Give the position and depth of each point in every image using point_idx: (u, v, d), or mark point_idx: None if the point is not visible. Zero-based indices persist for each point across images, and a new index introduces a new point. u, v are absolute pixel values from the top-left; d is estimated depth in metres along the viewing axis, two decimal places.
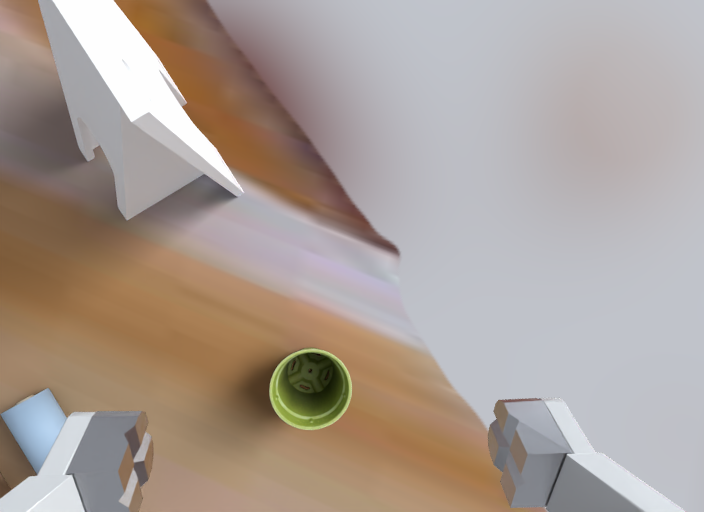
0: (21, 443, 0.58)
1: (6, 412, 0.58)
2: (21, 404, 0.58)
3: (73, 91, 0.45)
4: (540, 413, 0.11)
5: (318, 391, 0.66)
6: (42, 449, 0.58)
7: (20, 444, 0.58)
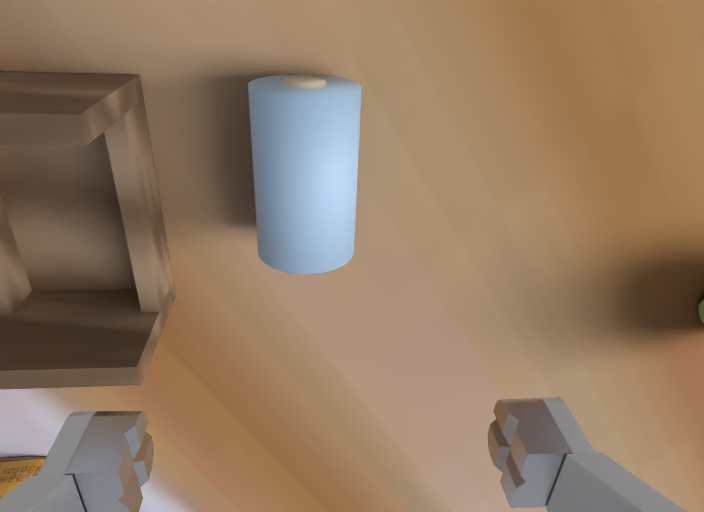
0: (275, 183, 0.24)
1: (283, 99, 0.22)
2: (326, 101, 0.22)
3: None
4: (540, 413, 0.11)
5: None
6: (313, 220, 0.25)
7: (269, 182, 0.24)
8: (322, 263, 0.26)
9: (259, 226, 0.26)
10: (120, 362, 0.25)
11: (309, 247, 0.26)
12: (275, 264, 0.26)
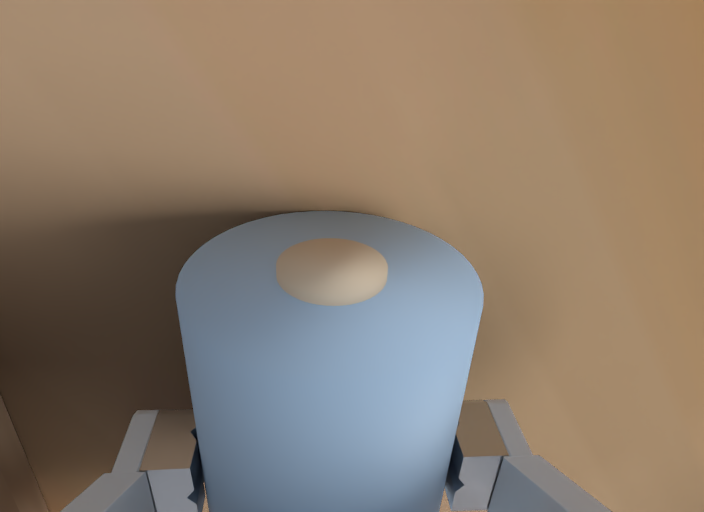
0: None
1: (277, 381, 0.07)
2: (408, 377, 0.07)
3: None
4: (482, 415, 0.11)
5: None
6: None
7: None
8: None
9: None
10: None
11: None
12: None
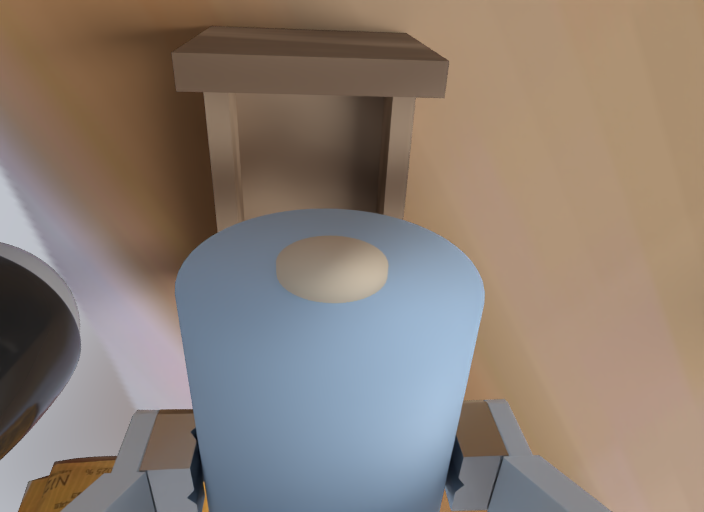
0: None
1: (276, 378, 0.07)
2: (408, 375, 0.07)
3: None
4: (482, 415, 0.11)
5: None
6: None
7: None
8: None
9: None
10: None
11: None
12: None
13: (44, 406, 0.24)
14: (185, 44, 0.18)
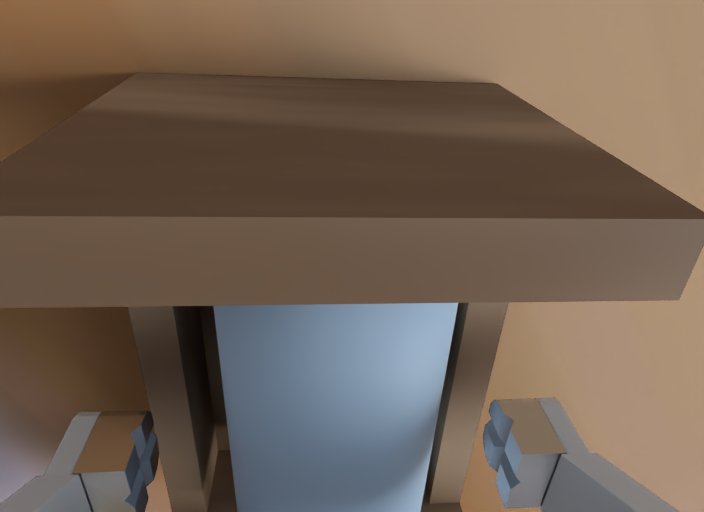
0: (282, 457, 0.10)
1: (309, 308, 0.08)
2: None
3: None
4: (535, 413, 0.11)
5: None
6: None
7: (268, 453, 0.11)
8: None
9: (242, 502, 0.13)
10: None
11: None
12: None
13: None
14: (16, 155, 0.07)
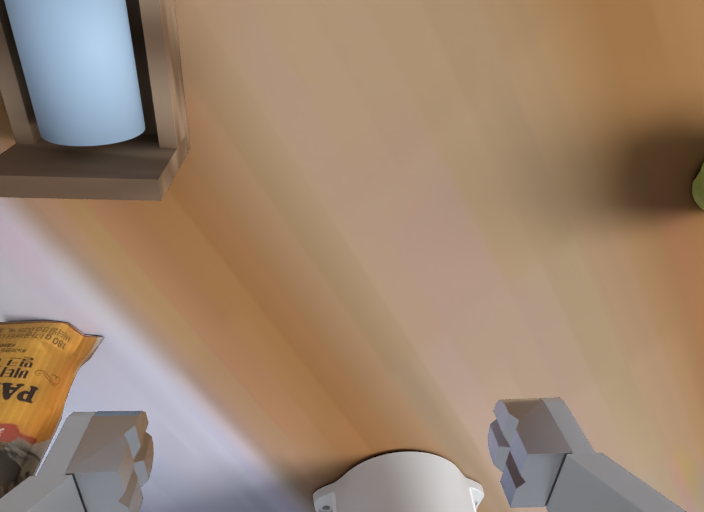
0: (27, 44, 0.24)
1: None
2: None
3: None
4: (540, 413, 0.11)
5: None
6: (74, 85, 0.25)
7: (23, 44, 0.24)
8: (95, 135, 0.26)
9: None
10: (142, 176, 0.26)
11: (76, 116, 0.26)
12: (49, 136, 0.26)
13: None
14: None
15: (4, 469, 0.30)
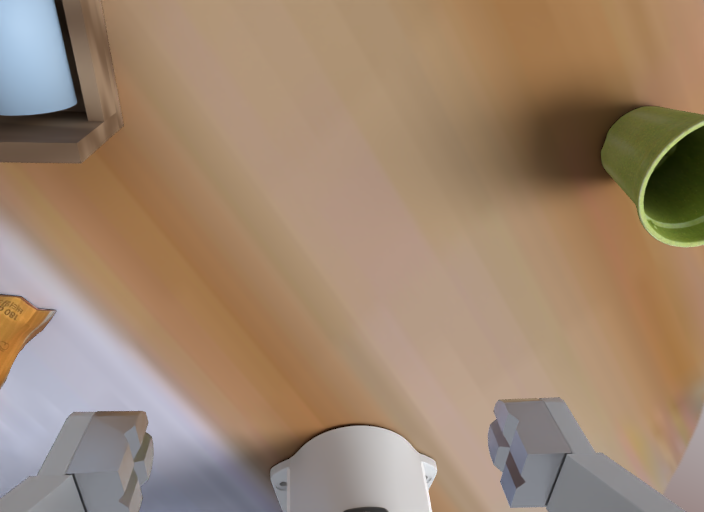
0: None
1: None
2: None
3: None
4: (540, 413, 0.11)
5: None
6: (5, 59, 0.28)
7: None
8: (27, 105, 0.29)
9: None
10: (63, 141, 0.29)
11: (8, 88, 0.29)
12: None
13: None
14: None
15: None
